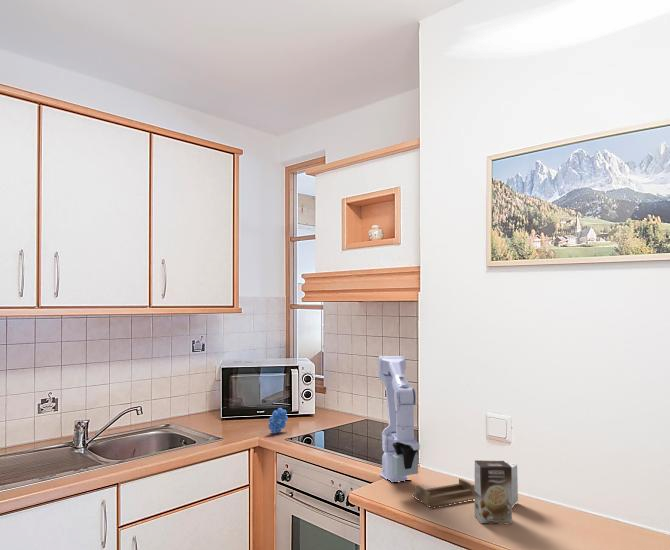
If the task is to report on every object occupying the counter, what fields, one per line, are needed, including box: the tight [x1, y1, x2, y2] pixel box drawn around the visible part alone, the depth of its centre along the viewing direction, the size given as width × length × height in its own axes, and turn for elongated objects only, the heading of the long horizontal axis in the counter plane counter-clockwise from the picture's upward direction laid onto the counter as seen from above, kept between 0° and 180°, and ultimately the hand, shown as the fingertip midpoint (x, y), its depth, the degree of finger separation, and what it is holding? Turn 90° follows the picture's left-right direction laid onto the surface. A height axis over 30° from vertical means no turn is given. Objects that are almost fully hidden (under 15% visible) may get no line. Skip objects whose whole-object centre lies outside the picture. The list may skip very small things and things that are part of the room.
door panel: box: [392, 453, 419, 477], centre depth 168 cm, size 3×8×6 cm, turn 114°
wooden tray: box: [411, 478, 475, 509], centre depth 164 cm, size 11×18×4 cm, turn 114°
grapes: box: [267, 407, 289, 434], centre depth 247 cm, size 12×7×12 cm, turn 136°
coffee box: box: [473, 459, 513, 524], centre depth 148 cm, size 9×6×16 cm
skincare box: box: [504, 461, 519, 506], centre depth 160 cm, size 6×4×12 cm
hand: (405, 466), depth 168 cm, fingers closed on door panel, 3 cm apart
